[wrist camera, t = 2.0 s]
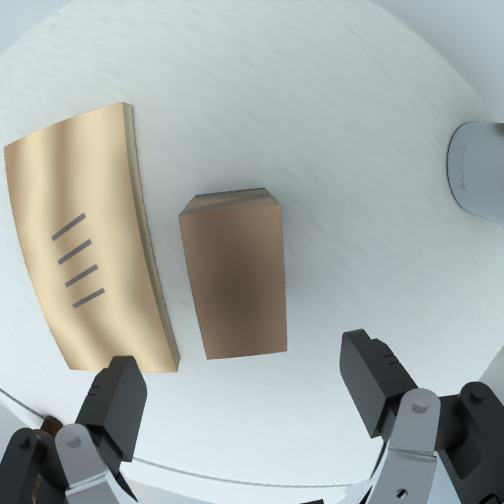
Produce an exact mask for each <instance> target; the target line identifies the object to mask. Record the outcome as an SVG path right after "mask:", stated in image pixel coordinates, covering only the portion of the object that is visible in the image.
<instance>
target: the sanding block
mask: <svg viewBox="0 0 504 504" xmlns="http://www.w3.org/2000/svg"><path fill="white" fill-rule="evenodd" d="M179 223H180V229H181V235H182V241H183V247H184V252H185V258H186V264H187V269H188V274H189V279H190V285H191V290H192V295H193V299H194V304H195V309H196V314H197V318H198V323H199V327H200V332H201V336H202V340H203V345H204V349H205V353H206V357H207V360H209V359H222V358H233V357H243V356H253V355H261V354H269V353H277V352H284V351H287V324H286V299H285V277H284V258H283V240H282V224H281V209H280V204H279V203H278V202H277V201H276V200H275V199H274V198H273V197H272V195H271V194H270V193H269V192H268V191H267V190H266V189H265V188H257V189H247V190H238V191H228V192H220V193H211V194H203V195H195V197H194V198H193V199H192V200H191V201H190V203H189V204H188V205H187V206H186V207H185V209H184V210H183V211H182V212H181V214H180V215H179Z"/></svg>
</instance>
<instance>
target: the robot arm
mask: <svg viewBox="0 0 504 504" xmlns="http://www.w3.org/2000/svg"><path fill="white" fill-rule="evenodd" d="M448 177H449V182H450V187H451V190H452V193H453V195H454V197H455V199H456V201H457V202H458V204H459V205H460V206H461V207H462V208H463V209H465V210H466V211H468V212H471V213H473V214H476V215H478V216H481V217H483V218H486V219H488V220H491V221H493V222H495V223H498V224H500V225H502V226H504V123H485V122H471V123H466V124H464V125H462V126H461V127H460V128H459V129H458V130H457V131H456V133H455V134H454V136H453V138H452V141H451V144H450V148H449V153H448ZM340 372H341V375H342V378H343V380H344V382H345V384H346V386H347V388H348V390H349V393H350V395H351V397H352V399H353V401H354V403H355V405H356V407H357V409H358V412H359V414H360V416H361V418H362V420H363V422H364V424H365V427H366V429H367V431H368V433H369V435H370V437H371V439H372V438H375V437H378V436H381V437H382V439H383V441H384V442H383V444H382V446H381V449H380V452H379V455H378V457H377V460H376V463H375V465H374V468H373V470H372V473H371V475H370V477H369V480H368V482H367V484H366V486H365V489H364V490H363V492H362V494H361V496H360V498H359V500H358V502H357V504H426V503H427V500H428V497H429V493H430V489H431V486H432V482H433V477H434V474H435V470H436V465H437V457H436V456H433V451H437V452H438V454H439V456H440V458H441V461H442V463H443V464H444V467H445V469H446V471H447V473H448V475H449V477H450V479H451V481H452V484H453V486H454V488H455V490H456V493H457V495H458V497H459V499H460V502H461V504H504V406H503V405H502V403H501V402H500V401H499V399H498V398H497V397H496V395H495V394H494V393H493V391H492V390H491V389H490V388H489V387H488V386H487V385H486V384H483V383H481V382H469V383H467V384H466V385H464V386H463V388H462V389H461V391H460V393H459V394H457V395H450V396H443V397H438V396H437V395H436V394H435V393H434V392H432V391H430V390H427V389H423V388H418V386H417V385H416V384H415V382H414V381H413V379H412V378H411V377H410V375H409V374H408V372H407V371H406V370H405V368H404V367H403V366H402V364H401V363H400V362H399V360H398V359H397V358H396V356H395V355H394V353H393V352H392V351H391V349H390V348H389V347H388V345H386V344H385V343H383V342H382V341H380V340H378V339H377V338H376V339H372V340H371V339H370V337H369V336H368V335H367V333H366V332H365V330H364V329H358V330H353V331H349V332H344V333H343V336H342V344H341V354H340ZM146 399H147V387H146V383H145V381H144V379H143V376H142V374H141V372H140V369H139V367H138V365H137V362H136V360H135V358H134V357H133V356H132V355H116V356H113V358H112V360H111V362H110V364H109V366H108V368H103V369H102V370H101V371H100V372H99V373H98V374H97V375H96V376H95V379H94V381H93V383H92V385H91V388H90V389H89V392H88V395H87V396H86V398H85V400H84V403H83V405H82V407H81V409H80V412H79V414H78V416H77V419H76V421H75V423H74V424H69V425H66V426H64V427H63V428H61V429H60V430H59V431H58V433H57V435H56V436H50V437H39V436H38V435H37V434H36V433H35V431H34V430H32V429H30V428H22V429H19V430H17V431H16V432H15V433H14V434H13V435H12V437H11V439H10V441H9V444H8V446H7V449H6V451H5V453H4V456H3V458H2V461H1V464H0V504H34V502H33V500H32V492H33V489H34V485H35V482H36V478H37V475H38V476H39V477H40V478H41V482H40V485H39V489H38V493H37V497H36V500H35V504H143V503H142V502H141V500H140V499H139V497H138V496H137V494H136V493H135V492H134V490H133V488H132V487H131V485H130V483H129V482H128V480H127V479H126V477H125V475H124V474H123V472H122V470H121V469H120V464H121V461H124V462H132V459H133V454H134V449H135V445H136V440H137V436H138V431H139V427H140V423H141V419H142V415H143V411H144V406H145V402H146ZM471 435H472V436H471ZM474 440H475V441H474ZM302 504H324V502H323V499H321V500H316V501H312V502H307V503H302Z"/></svg>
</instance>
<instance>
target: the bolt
mask: <svg viewBox="0 0 504 504" xmlns="http://www.w3.org/2000/svg"><path fill="white" fill-rule="evenodd" d="M61 428H63V426H62V424H61V423H60V422H59V421H57V420H56V419H54V418H51V417H47V418H45V420H44V422H43V424H42V426H41V428H40V429H34V431H35V433H36V434H37V435H38V436H39V437H50V436H56V435H57V433H58V431H59V430H60V429H61ZM40 482H41V478H40V477H39V476H38V475H37V478H36V482H35V485H34V489H33V492H32V500H33V502H35V500H36V497H37V493H38V489H39V485H40Z"/></svg>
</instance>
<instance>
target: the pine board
mask: <svg viewBox="0 0 504 504" xmlns="http://www.w3.org/2000/svg"><path fill="white" fill-rule="evenodd" d="M4 156H5V167H6V175H7V183H8V190H9V196H10V202H11V207H12V212H13V217H14V222H15V226H16V231H17V235H18V239H19V243H20V247H21V250H22V254H23V257H24V261H25V264H26V267H27V270H28V274H29V277H30V280H31V282H32V285H33V288H34V291H35V294H36V296H37V299H38V302H39V304H40V307H41V309H42V312H43V314H44V317H45V319H46V321H47V324H48V326H49V328H50V330H51V333H52V335H53V337H54V339H55V341H56V343H57V345H58V347H59V349H60V351H61V353H62V355H63V357H64V359H65V361H66V363H67V365H68V367H69V369H73V370H85V371H101V370H102V369H103V368H108V366H109V364H110V362H111V360H112V358H113V356H116V355H132V356H133V357H134V358H135V360H136V362H137V365H138V367H139V369H140V372H141V373H168V372H177V371H178V366H179V361H180V356H179V353H178V350H177V346H176V343H175V340H174V336H173V333H172V329H171V326H170V322H169V318H168V315H167V311H166V307H165V303H164V299H163V295H162V291H161V287H160V283H159V279H158V274H157V270H156V265H155V261H154V256H153V251H152V247H151V242H150V237H149V231H148V226H147V221H146V215H145V209H144V203H143V197H142V190H141V184H140V177H139V169H138V161H137V153H136V144H135V134H134V123H133V111H132V106H131V105H129V104H127V103H124V102H120V103H116V104H113V105H109V106H106V107H103V108H99V109H96V110H93V111H90V112H87V113H84V114H81V115H78V116H75V117H72V118H69V119H67V120H64V121H61V122H59V123H56V124H54V125H51V126H49V127H46V128H44V129H41V130H39V131H37V132H34V133H32V134H30V135H28V136H26V137H23V138H21V139H19V140H17V141H15V142H13V143H11V144H9V145H7V146H5V147H4Z"/></svg>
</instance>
